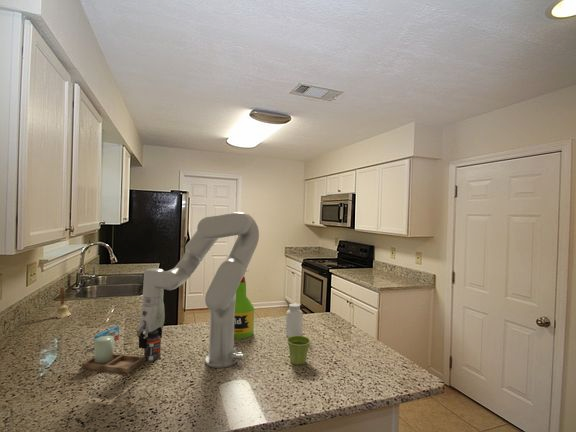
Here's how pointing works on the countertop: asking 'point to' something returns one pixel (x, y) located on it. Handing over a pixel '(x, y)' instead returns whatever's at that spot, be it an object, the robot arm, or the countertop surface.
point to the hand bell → (62, 306)
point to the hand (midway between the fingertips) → (150, 343)
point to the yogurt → (110, 333)
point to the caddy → (116, 363)
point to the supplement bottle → (153, 346)
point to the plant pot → (298, 349)
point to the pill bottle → (294, 320)
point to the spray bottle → (243, 312)
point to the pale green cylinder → (103, 350)
